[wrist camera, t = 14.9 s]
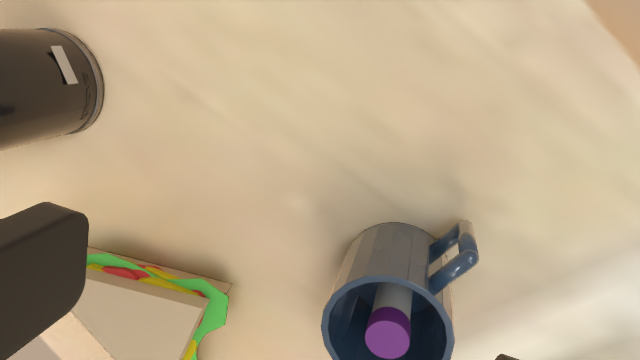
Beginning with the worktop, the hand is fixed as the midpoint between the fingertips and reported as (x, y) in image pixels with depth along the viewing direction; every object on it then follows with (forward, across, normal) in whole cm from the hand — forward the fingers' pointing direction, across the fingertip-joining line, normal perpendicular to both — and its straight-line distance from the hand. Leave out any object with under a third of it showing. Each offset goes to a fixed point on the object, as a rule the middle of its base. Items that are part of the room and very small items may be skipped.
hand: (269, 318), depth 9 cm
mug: (+30, -5, +12) cm, 33 cm away
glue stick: (+30, -4, +14) cm, 33 cm away
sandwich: (+30, +19, +24) cm, 43 cm away
